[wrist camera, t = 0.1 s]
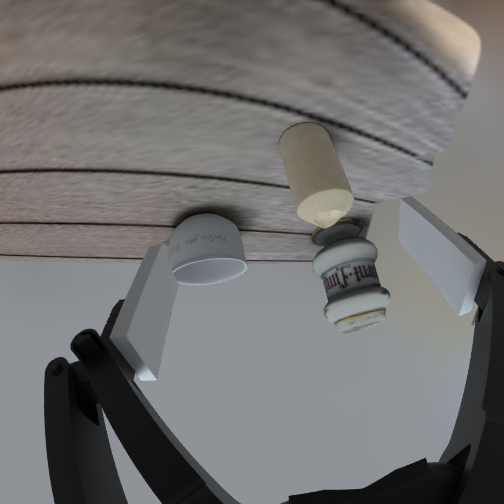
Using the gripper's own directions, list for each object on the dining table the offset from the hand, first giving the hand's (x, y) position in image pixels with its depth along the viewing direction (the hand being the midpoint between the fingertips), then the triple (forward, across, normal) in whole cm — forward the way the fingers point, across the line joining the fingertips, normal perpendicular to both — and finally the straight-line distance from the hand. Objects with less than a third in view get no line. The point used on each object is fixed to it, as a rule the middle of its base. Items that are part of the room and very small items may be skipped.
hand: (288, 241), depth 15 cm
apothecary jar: (+32, +12, -19) cm, 39 cm away
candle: (+18, +5, +2) cm, 19 cm away
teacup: (+26, -11, -10) cm, 30 cm away
